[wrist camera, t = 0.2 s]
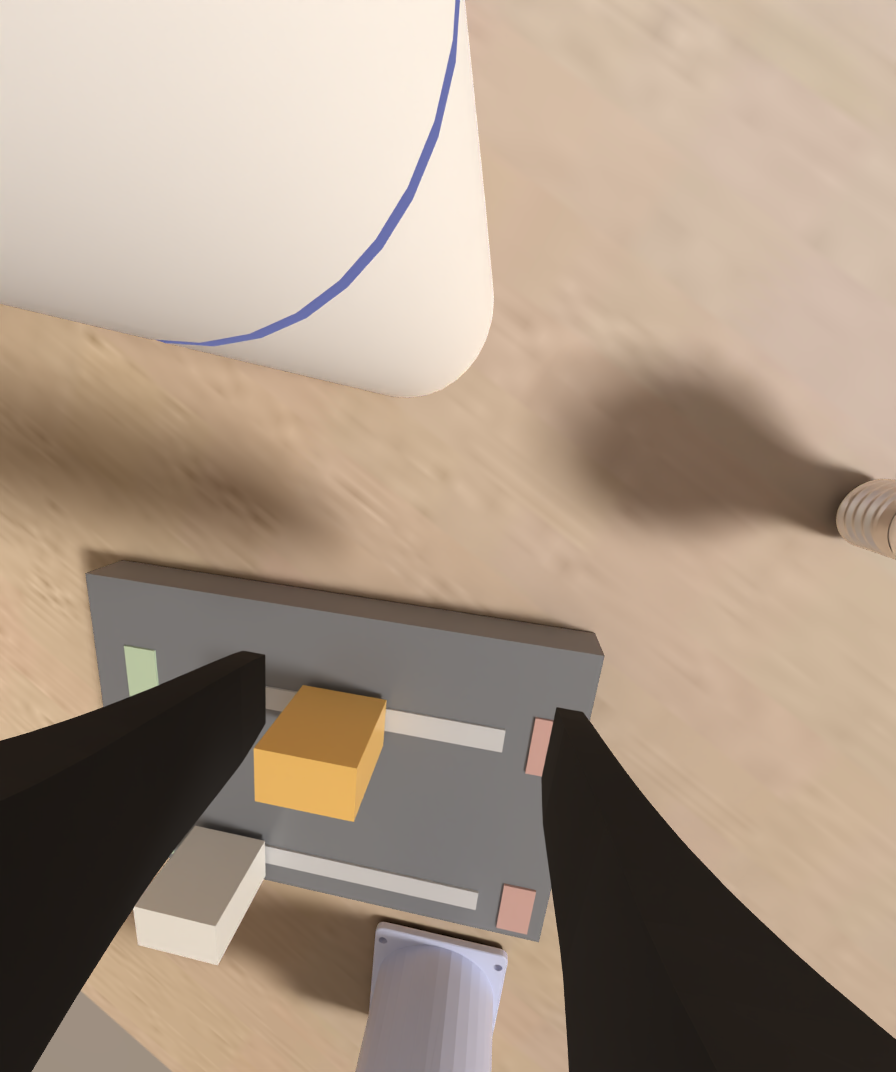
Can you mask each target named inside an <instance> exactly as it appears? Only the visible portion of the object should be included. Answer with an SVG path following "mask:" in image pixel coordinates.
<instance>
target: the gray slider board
mask: <svg viewBox="0 0 896 1072" xmlns="http://www.w3.org/2000/svg"><path fill="white" fill-rule="evenodd" d="M85 574H86V581H87V589H88V596H89V603H90V611H91V618H92V626H93V633H94V640H95V648H96V655H97V663H98V670H99V677H100V685H101V692H102V700H103V707H105V706H107V705H110V704H112V703H115V702H118V701H120V700H123V699H125V698H128V697H130V696H133V695H135V694H138V693H140V692H143V691H146V690H148V689H151V688H153V687H155V686H158V685H160V684H162V683H165V682H167V681H169V680H172V679H174V678H176V677H179V676H181V675H183V674H186V673H188V672H191V671H193V670H195V669H197V668H200V667H202V666H204V665H207V664H209V663H211V662H214V661H216V660H219V659H221V658H224V657H226V656H229V655H231V654H234V653H237V652H240V651H248V652H254V653H260V654H265V677H266V724H265V726H264V727H263V729H262V731H261V732H260V734H259V736H258V738H257V739H256V741H255V743H254V744H253V746H252V748H251V749H250V751H249V753H248V754H247V756H246V757H245V759H244V760H243V762H242V763H241V765H240V766H239V767H238V769H237V770H236V771H235V773H234V774H233V775H232V777H231V778H230V779H229V781H228V782H227V783H226V784H225V786H224V787H223V788H222V790H221V791H220V792H219V793H218V795H217V796H216V797H215V799H214V800H213V801H212V802H211V804H210V805H209V806H208V807H207V809H206V810H205V811H204V813H203V814H202V815H201V816H200V818H199V819H198V820H197V821H196V823H195V824H194V825H193V827H192V828H191V829H190V830H189V832H188V833H187V834H186V836H185V837H184V838H183V839H182V841H181V842H180V843H179V844H178V846H177V847H176V848H175V850H174V851H173V852H172V853H171V855H170V856H169V858H171V856H172V855H173V854H174V853H175V851H176V850H177V849H178V847H179V846H180V845H181V844H182V842H183V841H184V840H185V838H186V837H187V836H188V834H189V833H190V832H191V831H192V829H193V828H194V827H195V826H199V827H204V828H208V829H213V830H217V831H222V832H227V833H231V834H236V835H240V836H245V837H249V838H254V839H258V840H263V841H265V874H266V876H265V878H264V879H265V880H270V881H274V882H278V883H283V884H287V885H291V886H296V887H300V888H304V889H309V890H313V891H318V892H322V893H326V894H331V895H335V896H339V897H344V898H348V899H352V900H357V901H361V902H366V903H370V904H374V905H379V906H383V907H387V908H392V909H396V910H400V911H405V912H409V913H414V914H418V915H422V916H427V917H431V918H435V919H440V920H444V921H448V922H453V923H457V924H462V925H466V926H470V927H475V928H479V929H483V930H488V931H492V932H496V933H501V934H505V935H510V936H514V937H518V938H523V939H527V940H531V941H536V942H539V939H540V935H541V930H542V926H543V922H544V917H545V913H546V909H547V904H548V900H549V895H550V891H551V881H550V873H549V866H548V859H547V852H546V845H545V837H544V830H543V816H542V784H541V777H542V773H543V768H544V763H545V758H546V754H547V749H548V744H549V740H550V735H551V730H552V725H553V721H554V716H555V711H556V707H559V708H564V709H570V710H575V711H581V712H583V713H584V714H585V715H586V717H587V718H588V720H589V721H590V717H591V713H592V708H593V704H594V699H595V695H596V691H597V686H598V682H599V678H600V673H601V669H602V665H603V660H604V654H603V651H602V649H601V647H600V644H599V642H598V639H597V637H596V635H595V633H590V632H584V631H577V630H571V629H564V628H558V627H551V626H545V625H539V624H532V623H526V622H519V621H513V620H506V619H500V618H493V617H487V616H480V615H474V614H467V613H461V612H454V611H448V610H441V609H435V608H428V607H422V606H415V605H409V604H402V603H396V602H390V601H383V600H377V599H370V598H364V597H357V596H351V595H344V594H338V593H331V592H325V591H318V590H312V589H305V588H299V587H292V586H286V585H279V584H273V583H266V582H260V581H253V580H247V579H241V578H234V577H228V576H221V575H215V574H208V573H202V572H195V571H189V570H182V569H176V568H169V567H163V566H156V565H150V564H143V563H137V562H130V561H124V560H121V561H119V562H116V563H113V564H110V565H107V566H105V567H102V568H99V569H96V570H93V571H90V572H88V573H85ZM302 685H306V686H311V687H317V688H323V689H328V690H334V691H339V692H345V693H351V694H356V695H362V696H367V697H373V698H379V699H384V700H387V702H386V715H385V728H384V742H383V747H382V750H381V752H380V755H379V758H378V760H377V763H376V765H375V768H374V771H373V773H372V776H371V779H370V781H369V784H368V786H367V789H366V792H365V794H364V797H363V799H362V802H361V805H360V807H359V810H358V812H357V815H356V818H355V820H354V822H352V821H347V820H342V819H337V818H332V817H328V816H323V815H318V814H313V813H309V812H304V811H299V810H294V809H290V808H285V807H280V806H275V805H271V804H266V803H261V802H256V801H255V787H254V747H255V746H256V745H257V743H258V742H259V741H260V739H261V738H262V737H263V736H264V734H265V733H266V732H267V730H268V729H269V728H270V727H271V725H272V724H273V723H274V721H275V720H276V719H277V718H278V716H279V715H280V714H281V712H282V711H283V710H284V709H285V707H286V706H287V705H288V703H289V702H290V701H291V700H292V698H293V697H294V696H295V694H296V693H297V692H298V691H299V689H300V688H301V687H302Z"/></svg>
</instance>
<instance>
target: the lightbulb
mask: <svg viewBox="0 0 896 1072" xmlns="http://www.w3.org/2000/svg"><path fill="white" fill-rule="evenodd" d="M836 525H837V529H838V531H839V533H840V535H841V536H842V537H843V538H844V539H845V540H846V541H847V542H849V543H850V544H852V545H855V546H857V547H861V548H864V549H866V550H870V551H872V552H875V553H878V554H881V555H884V556H886V557H890V558H892V559H895V560H896V480H891V479H877V480H872V481H869V482H866V483H863V484H861V485H859V486H858V487H856V488H855V489H853V490H852V491H851V492H850V493H849V494H848V495H847V496H846V497H845V498H844V499H843V500H842V502H841V504H840V506H839V508H838V510H837V514H836Z"/></svg>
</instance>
